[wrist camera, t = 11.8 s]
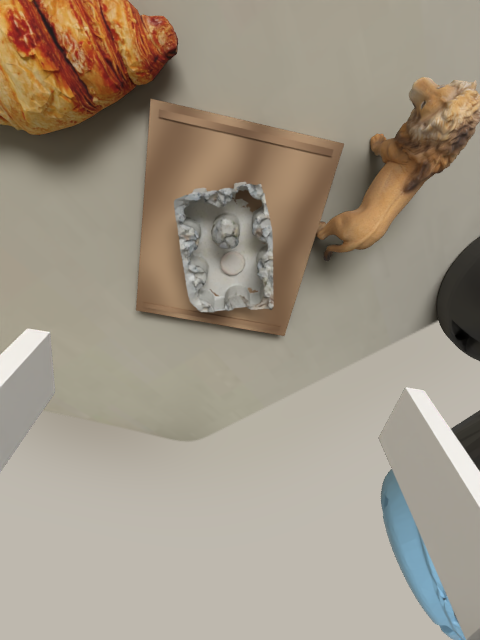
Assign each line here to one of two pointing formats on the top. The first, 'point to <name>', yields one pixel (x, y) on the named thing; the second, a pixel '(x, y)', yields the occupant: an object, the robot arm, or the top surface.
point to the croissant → (74, 59)
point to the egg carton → (226, 249)
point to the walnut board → (223, 172)
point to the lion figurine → (409, 160)
